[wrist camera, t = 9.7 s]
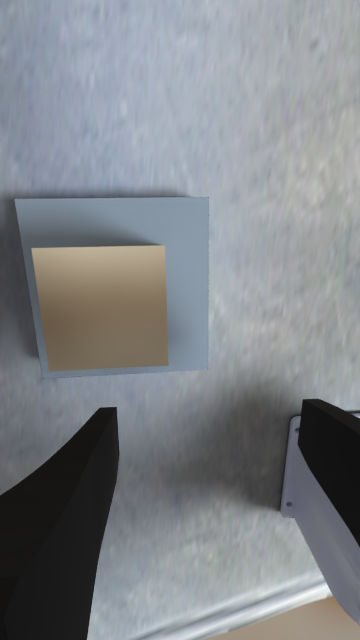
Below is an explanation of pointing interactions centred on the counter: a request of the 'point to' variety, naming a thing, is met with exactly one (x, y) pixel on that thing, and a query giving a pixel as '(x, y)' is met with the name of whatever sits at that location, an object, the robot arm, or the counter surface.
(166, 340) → the birch block
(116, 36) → the counter surface
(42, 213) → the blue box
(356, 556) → the robot arm
